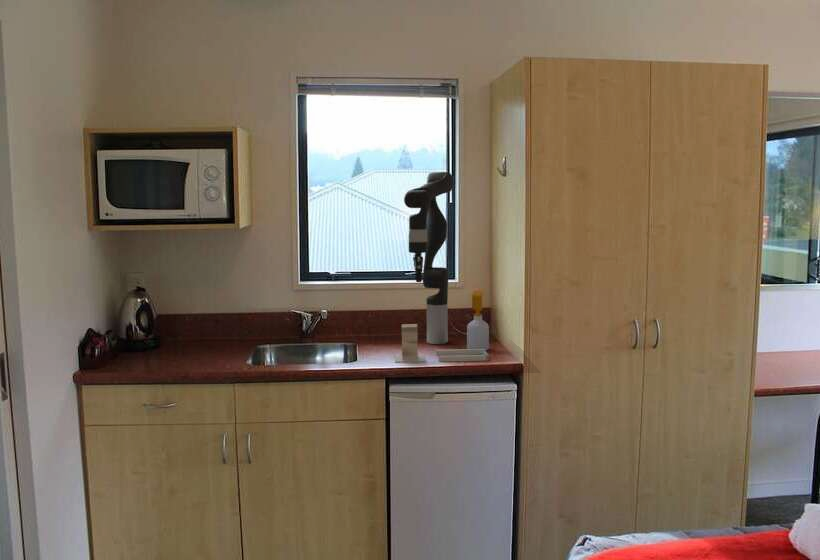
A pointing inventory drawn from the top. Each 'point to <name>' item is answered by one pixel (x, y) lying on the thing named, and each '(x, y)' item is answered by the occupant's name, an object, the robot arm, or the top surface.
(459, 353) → the walled channel
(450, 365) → the top surface
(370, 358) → the top surface
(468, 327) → the soap bottle
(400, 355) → the grey mat
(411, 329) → the birch block
